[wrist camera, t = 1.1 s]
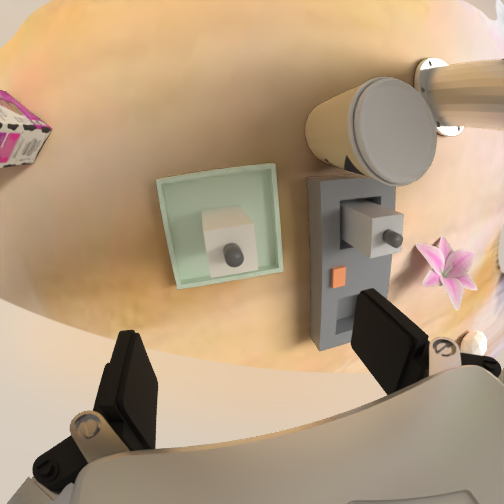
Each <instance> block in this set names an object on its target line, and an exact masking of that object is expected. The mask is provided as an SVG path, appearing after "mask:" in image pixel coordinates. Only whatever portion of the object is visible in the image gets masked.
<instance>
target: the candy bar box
mask: <svg viewBox="0 0 504 504" xmlns="http://www.w3.org/2000/svg"><path fill="white" fill-rule="evenodd" d="M51 131H52V128H51V127H49V126H48V125H47V124H46V123H44V122H43V121H42V120H40V119H39V118H38V117H37V116H35V115H34V114H33V113H31V112H30V111H29V110H28V109H27V108H25V107H24V106H23V105H22V104H20V103H19V102H18V101H17V100H16V99H14V98H13V97H12V96H11V95H9V94H8V93H7V92H6V91H2V90H0V168H3V167H10V166H18V165H24V164H33V163H34V161H35V159H36V158H37V156H38V154H39V152H40V150H41V148H42V146H43V145H44V143H45V141H46V140H47V138H48V136H49V134H50V133H51Z"/></svg>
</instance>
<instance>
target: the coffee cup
mask: <svg viewBox="0 0 504 504" xmlns="http://www.w3.org/2000/svg"><path fill="white" fill-rule="evenodd" d="M305 136H306V140H307V143H308V146H309V148H310V149H311V151H312V152H313V154H314V155H315V156H316V157H317V158H318V159H320V160H321V161H323V162H325V163H327V164H330V165H332V166H335V167H338V168H342V169H345V170H348V171H351V172H354V173H357V174H360V175H363V176H366V177H369V178H373V179H375V180H377V181H379V182H381V183H383V184H386V185H389V186H404V185H408V184H410V183H412V182H414V181H416V180H418V179H419V178H421V177H422V176H423V175H424V174H425V173H426V171H427V170H428V169H429V167H430V165H431V163H432V161H433V158H434V155H435V150H436V142H437V135H436V126H435V122H434V118H433V115H432V112H431V110H430V108H429V106H428V104H427V103H426V101H425V99H424V98H423V97H422V96H421V94H420V93H419V92H418V91H417V90H416V89H415V88H413V87H412V86H411V85H409V84H407V83H406V82H403V81H401V80H399V79H396V78H392V77H377V78H373V79H371V80H369V81H367V82H365V83H364V84H362V85H360V86H357V87H355V88H353V89H350V90H348V91H346V92H344V93H341V94H339V95H337V96H335V97H333V98H331V99H329V100H327V101H325V102H323V103H321V104H319V105H318V106H316V107H315V108H314V109H313V110H312V111H311V113H310V114H309V116H308V118H307V121H306V125H305Z"/></svg>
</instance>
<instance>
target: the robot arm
mask: <svg viewBox="0 0 504 504" xmlns="http://www.w3.org/2000/svg"><path fill="white" fill-rule="evenodd" d="M414 85H415V89H416V90H417V91H418V92H419V93H420V94H421V96H422V97H423V98H424V99H425V101H426V103H427V104H428V106H429V108H430V110H431V112H432V115H433V118H434V122H435V126H436V132H437V133H439V134H441V135H444V136H451V137H452V136H456V135H458V134H459V133H460V132H461V131H462V130H463V128H464V127H468V128H481V129H491V130H500V131H504V59H493V60H482V61H473V62H465V63H458V64H451V65H448V64H447V63H445V62H444V61H442V60H440V59H438V58H428V59H424V60H423V61H421V62H420V63H419V65H418V66H417V69H416V72H415V79H414ZM428 337H429V336H428V335H427V334H426V333H425V332H424V331H422V330H421V329H420V328H419V327H418V326H417V325H416V324H415V323H413V322H412V321H411V320H410V319H409V318H408V317H407V316H406V315H404V314H403V313H402V312H401V311H400V310H399V309H397V308H396V307H395V306H394V305H393V304H392V303H391V302H389V301H388V300H387V299H386V298H385V297H384V296H382V295H381V294H380V293H379V292H378V291H376V290H375V289H374V288H370V289H366V290H362V291H361V292H360V294H359V295H358V296H357V300H356V309H355V316H354V323H353V330H352V337H351V346H352V349H353V350H354V351H355V353H356V354H357V355H358V357H359V358H360V359H361V360H362V362H363V363H364V364H365V366H366V367H367V368H368V370H369V371H370V372H371V374H372V375H373V376H374V378H375V379H376V380H377V382H378V383H379V384H380V386H381V387H382V388H383V390H384V391H385V392H386V393H387V396H385V397H383V398H380V399H378V400H376V401H373V402H371V403H368V404H365V405H363V406H361V407H358V408H355V409H352V410H350V411H347V412H344V413H341V414H338V415H335V416H332V417H329V418H326V419H323V420H320V421H316V422H313V423H310V424H306V425H302V426H299V427H295V428H291V429H287V430H283V431H280V432H275V433H271V434H266V435H261V436H256V437H251V438H246V439H240V440H235V441H228V442H221V443H215V444H206V445H197V446H189V447H177V448H162V449H155V442H156V441H155V440H156V414H157V395H158V381H157V378H156V376H155V373H154V371H153V368H152V366H151V363H150V361H149V358H148V356H147V353H146V350H145V348H144V345H143V342H142V340H141V337H140V334H139V333H135V331H134V330H125V331H120V332H119V335H118V338H117V341H116V344H115V347H114V351H113V354H112V358H111V361H110V363H107V364H106V366H105V368H104V371H103V375H102V378H101V382H100V385H99V389H98V393H97V397H96V400H95V404H94V408H93V411H84V412H81V413H79V414H78V415H77V416H75V417H74V419H73V420H72V421H71V424H70V432H71V436H69V437H68V438H67V439H65V440H63V441H62V442H61V443H59V444H58V445H56V446H55V447H53V448H52V449H50V450H49V451H47V452H45V453H44V454H42V455H41V456H39V457H38V458H37V459H36V460H35V462H34V464H33V475H34V476H33V477H32V479H31V478H29V477H28V478H27V479H26V481H25V482H24V483H23V484H22V485H21V487H20V488H19V489H18V490H17V492H16V493H15V494H14V495H13V497H12V498H11V499H10V500H9V502H8V503H7V504H504V368H503V370H501V366H500V364H499V363H498V362H497V361H496V360H495V359H494V358H492V357H488V356H481V355H474V354H468V353H461V352H460V349H459V346H458V345H457V343H456V342H455V341H453V340H452V339H449V338H446V337H437V338H434V339H433V340H431V342H429V341H428Z"/></svg>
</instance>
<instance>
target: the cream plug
mask: <svg viewBox="0 0 504 504" xmlns="http://www.w3.org/2000/svg"><path fill="white" fill-rule="evenodd" d="M201 215H202V226H203V234H204V240H205V246H206V252H207V258H208V264H209V270H210V275H211V278H214V277H220V276H226V275H232V274H238V273H243V272H249V271H255V270H259V267H258V257H257V248H256V238H255V228H254V223H253V221H252V220H251V219H250V218H249V217H248V215H247V214H246V213H245V212H244V210H243V209H242V208H241V207H240V205H232V206H226V207H219V208H213V209H206V210H201Z"/></svg>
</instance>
